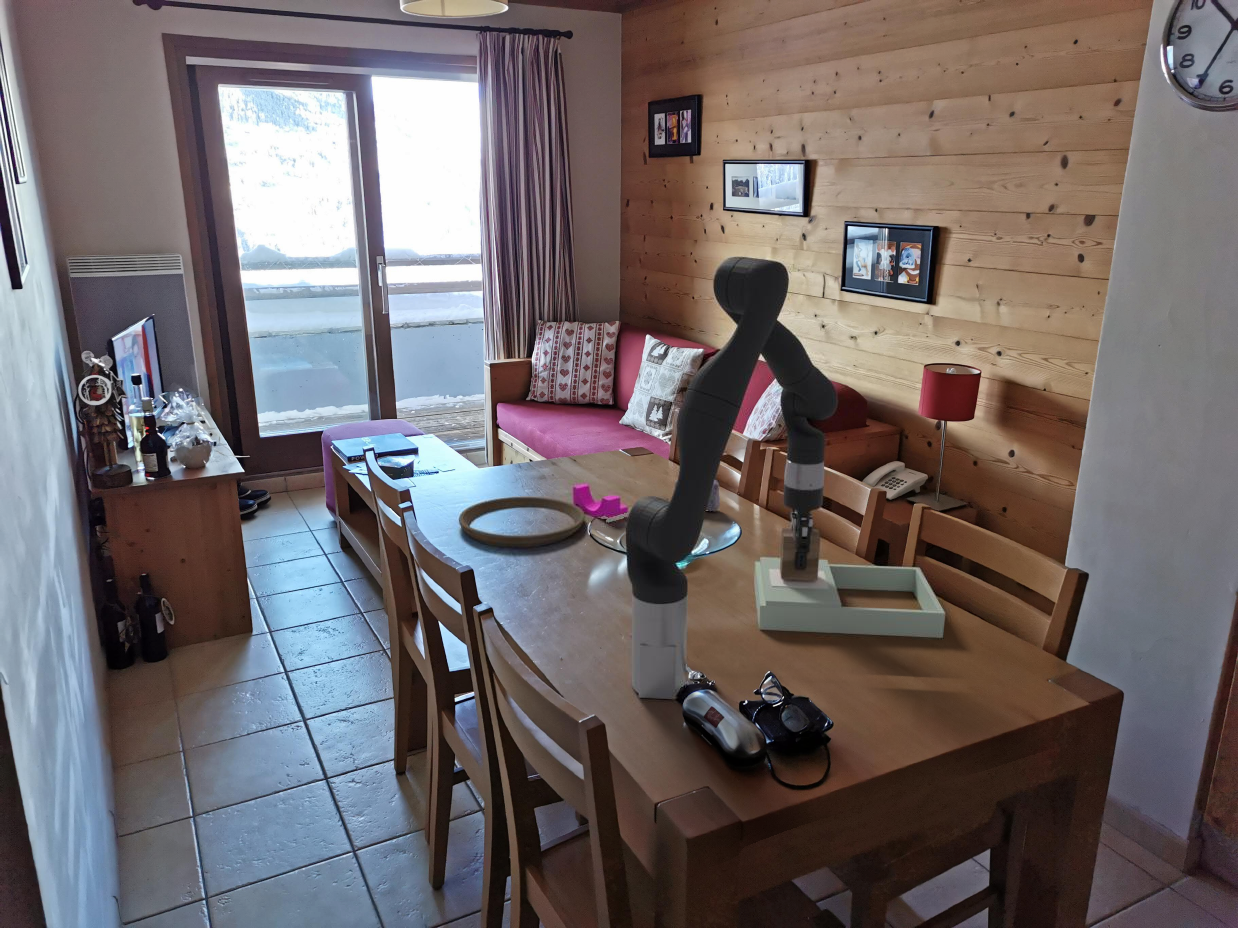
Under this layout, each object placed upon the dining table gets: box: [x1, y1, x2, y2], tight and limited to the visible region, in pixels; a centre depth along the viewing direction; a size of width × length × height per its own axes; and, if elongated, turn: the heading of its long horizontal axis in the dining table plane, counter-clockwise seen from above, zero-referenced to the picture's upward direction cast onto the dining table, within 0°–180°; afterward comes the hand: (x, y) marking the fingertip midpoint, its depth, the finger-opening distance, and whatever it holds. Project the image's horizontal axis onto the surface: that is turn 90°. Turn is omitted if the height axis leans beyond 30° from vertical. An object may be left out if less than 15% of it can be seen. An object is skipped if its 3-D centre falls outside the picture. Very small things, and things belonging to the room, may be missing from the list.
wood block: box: [779, 527, 821, 580], centre depth 177 cm, size 4×7×9 cm, turn 84°
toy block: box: [572, 483, 629, 519], centre depth 231 cm, size 15×6×8 cm, turn 39°
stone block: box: [674, 478, 721, 513], centre depth 233 cm, size 12×5×10 cm, turn 62°
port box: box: [753, 556, 946, 639], centre depth 179 cm, size 22×34×6 cm, turn 84°
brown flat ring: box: [458, 496, 586, 549], centre depth 222 cm, size 31×31×5 cm
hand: (798, 564), depth 178 cm, fingers closed on wood block, 4 cm apart
